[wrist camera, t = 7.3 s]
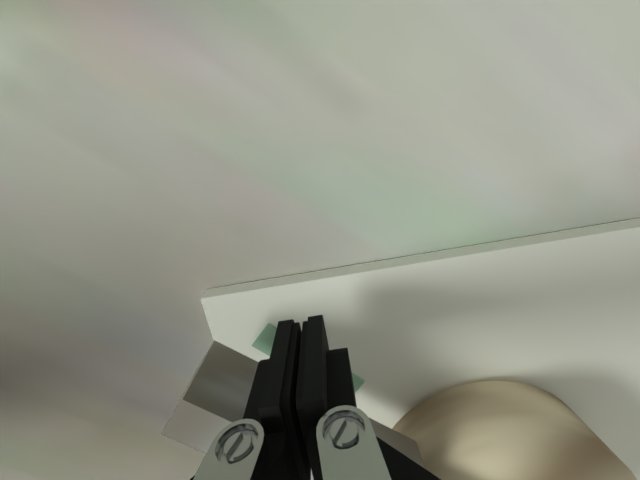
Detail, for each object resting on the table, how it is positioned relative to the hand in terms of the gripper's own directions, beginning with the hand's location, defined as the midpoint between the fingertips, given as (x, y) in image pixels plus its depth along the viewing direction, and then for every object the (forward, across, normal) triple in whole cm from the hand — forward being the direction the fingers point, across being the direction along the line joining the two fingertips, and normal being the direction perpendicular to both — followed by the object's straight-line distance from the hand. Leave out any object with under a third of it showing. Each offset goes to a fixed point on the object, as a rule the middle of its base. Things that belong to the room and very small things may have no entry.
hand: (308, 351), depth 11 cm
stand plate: (+4, -7, +10) cm, 13 cm away
